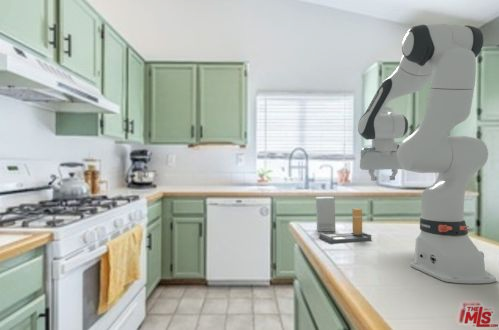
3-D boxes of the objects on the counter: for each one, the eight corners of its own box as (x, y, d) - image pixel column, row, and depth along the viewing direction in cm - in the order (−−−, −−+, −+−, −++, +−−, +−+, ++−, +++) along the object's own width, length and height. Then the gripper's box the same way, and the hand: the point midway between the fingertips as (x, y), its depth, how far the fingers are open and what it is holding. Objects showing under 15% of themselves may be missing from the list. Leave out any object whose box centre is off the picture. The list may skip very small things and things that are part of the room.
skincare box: (333, 229, 166) (333, 196, 166) (335, 231, 159) (335, 197, 159) (315, 229, 167) (315, 196, 166) (317, 231, 160) (316, 197, 160)
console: (357, 235, 151) (357, 230, 151) (371, 240, 141) (371, 234, 141) (319, 238, 146) (319, 232, 146) (330, 243, 137) (330, 237, 137)
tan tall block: (358, 233, 147) (358, 208, 147) (363, 235, 144) (363, 209, 144) (351, 234, 146) (351, 208, 146) (355, 235, 143) (355, 209, 143)
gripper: (365, 147, 141) (365, 181, 141) (408, 147, 146) (409, 180, 146) (356, 147, 147) (356, 180, 147) (398, 147, 152) (399, 179, 152)
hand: (383, 180), depth 147 cm, fingers open, 7 cm apart
